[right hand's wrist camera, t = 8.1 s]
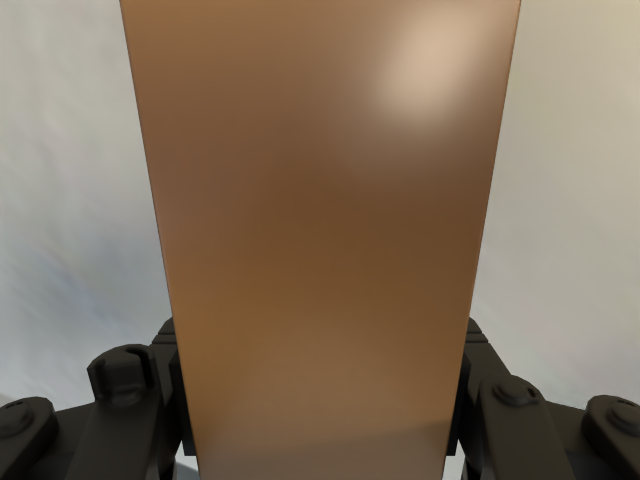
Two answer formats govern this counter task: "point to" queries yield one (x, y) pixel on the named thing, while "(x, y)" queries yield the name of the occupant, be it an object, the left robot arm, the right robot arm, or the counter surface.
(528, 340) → the counter surface
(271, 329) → the beam
